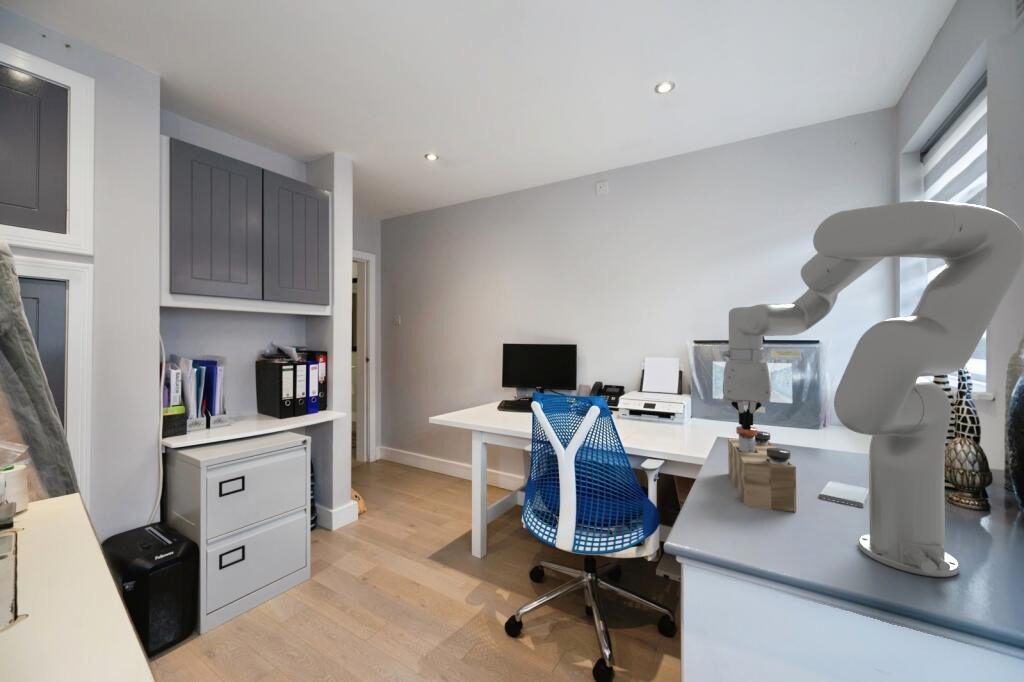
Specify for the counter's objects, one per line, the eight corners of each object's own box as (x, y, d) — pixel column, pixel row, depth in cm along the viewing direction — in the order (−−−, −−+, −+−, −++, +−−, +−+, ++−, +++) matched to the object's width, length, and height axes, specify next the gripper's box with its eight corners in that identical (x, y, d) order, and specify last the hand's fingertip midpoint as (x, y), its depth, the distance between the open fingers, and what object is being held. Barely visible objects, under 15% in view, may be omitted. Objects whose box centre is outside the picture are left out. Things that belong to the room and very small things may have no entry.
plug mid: (759, 478, 102) (759, 430, 102) (738, 476, 103) (738, 429, 103) (755, 472, 106) (755, 426, 106) (735, 471, 108) (734, 425, 108)
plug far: (772, 480, 109) (772, 435, 109) (753, 478, 110) (752, 434, 110) (768, 475, 113) (767, 431, 113) (749, 473, 115) (748, 430, 115)
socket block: (796, 512, 91) (795, 466, 91) (745, 506, 94) (744, 462, 94) (769, 477, 114) (768, 440, 114) (728, 473, 117) (728, 438, 117)
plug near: (793, 507, 92) (793, 453, 92) (769, 504, 93) (769, 452, 93) (787, 499, 96) (787, 448, 96) (765, 497, 98) (764, 447, 98)
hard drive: (863, 503, 93) (869, 488, 102) (818, 493, 99) (828, 480, 107) (863, 510, 93) (869, 494, 102) (818, 500, 99) (828, 486, 107)
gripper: (714, 356, 104) (715, 429, 104) (784, 356, 99) (784, 433, 99) (711, 355, 111) (711, 423, 111) (775, 355, 106) (776, 426, 106)
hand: (745, 427), depth 105 cm, fingers closed
